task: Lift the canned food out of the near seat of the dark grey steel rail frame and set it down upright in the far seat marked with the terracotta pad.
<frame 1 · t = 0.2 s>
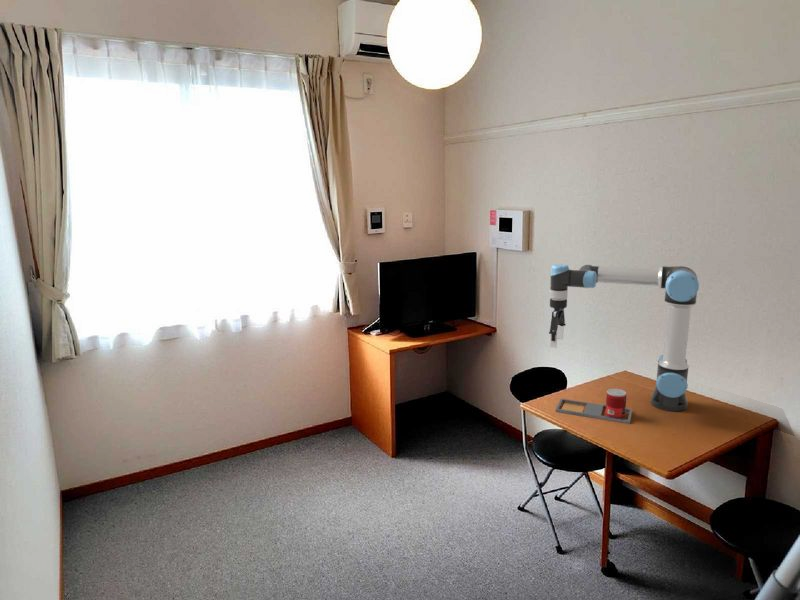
hand: (556, 343, 254), 28 cm above the table, fingers open, 13 cm apart
canned food: (615, 415, 241), resting in rail frame
rail frame: (593, 411, 245), on the table
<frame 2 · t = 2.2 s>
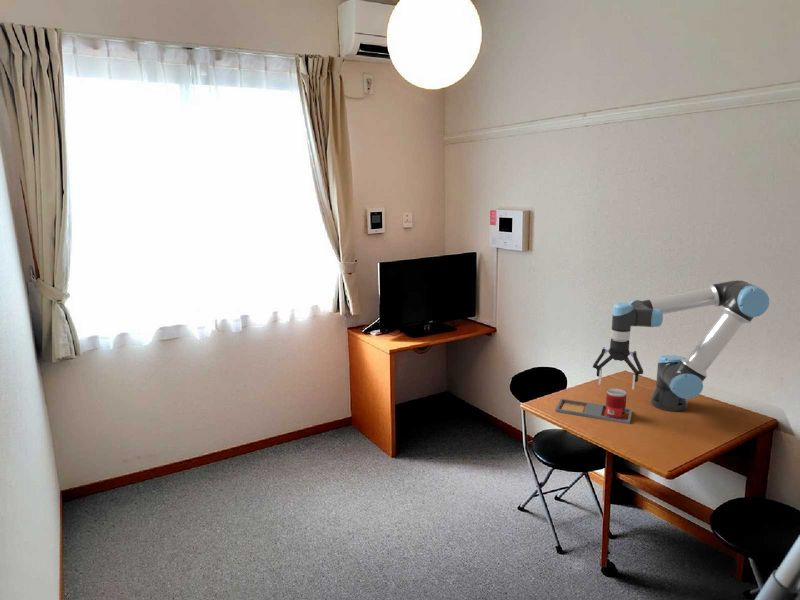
hand: (616, 385, 238), 14 cm above the table, fingers open, 13 cm apart
nothing on the table moved.
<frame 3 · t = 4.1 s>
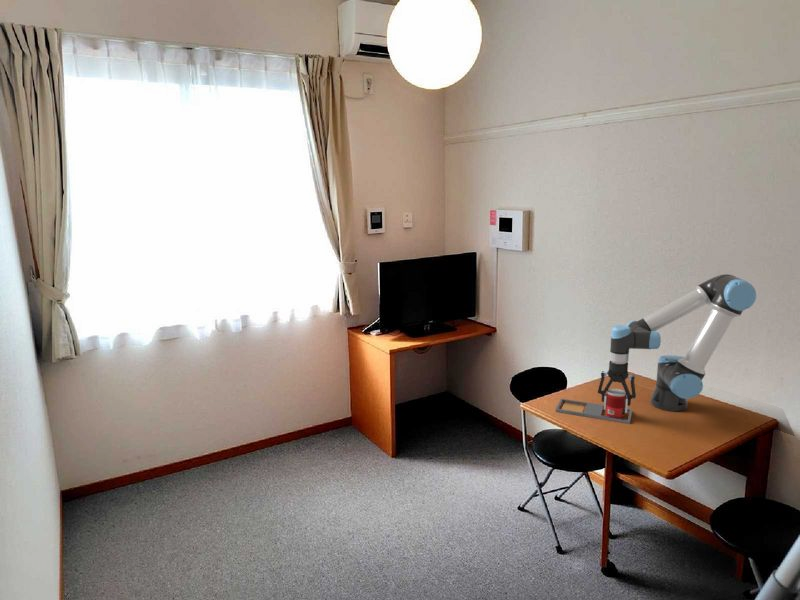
hand: (615, 410, 241), 2 cm above the table, fingers closed on canned food, 8 cm apart
canned food: (615, 415, 241), resting in rail frame, touching gripper
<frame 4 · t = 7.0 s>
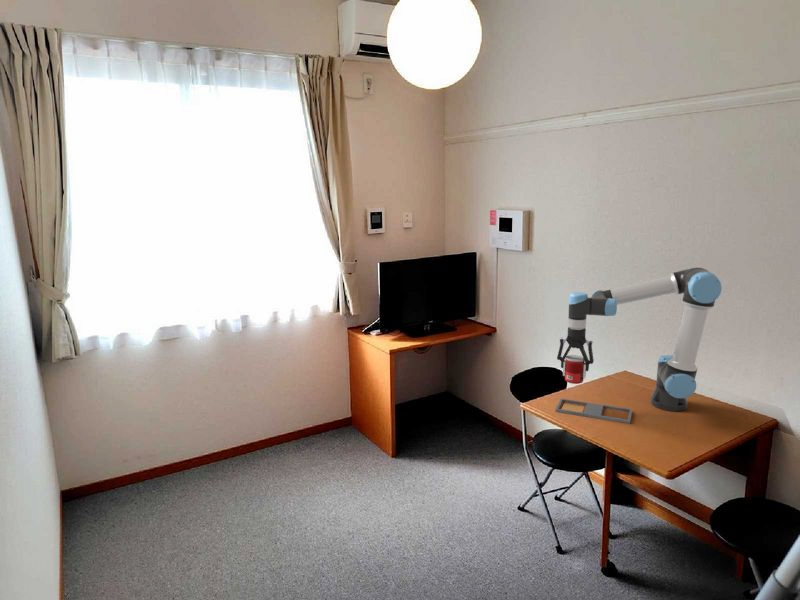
hand: (574, 376, 246), 16 cm above the table, fingers closed on canned food, 8 cm apart
canned food: (574, 381, 246), point 13 cm above the table, touching gripper
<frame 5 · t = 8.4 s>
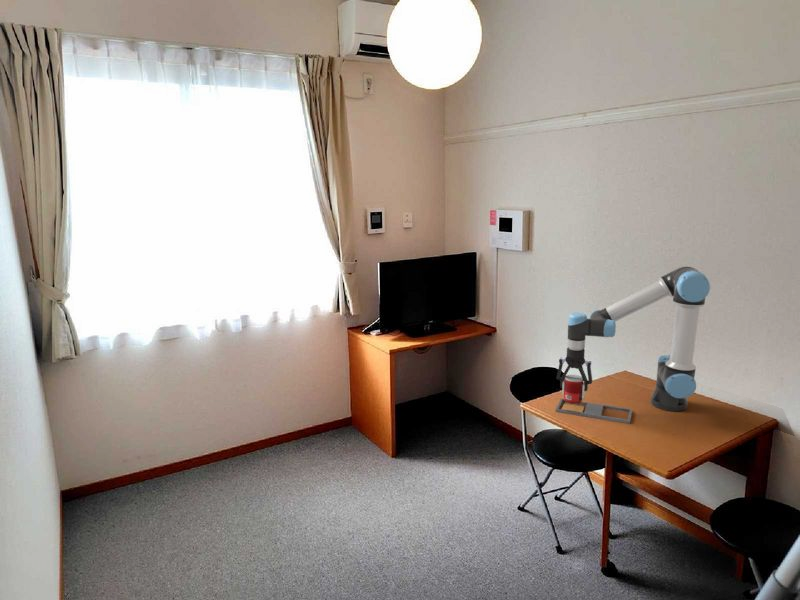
hand: (573, 395, 248), 6 cm above the table, fingers closed on canned food, 8 cm apart
canned food: (572, 400, 248), point 4 cm above the table, touching gripper
when the fingers open (4 cm above the table, at t = 9.8 s): canned food drops 1 cm, resting on rail frame.
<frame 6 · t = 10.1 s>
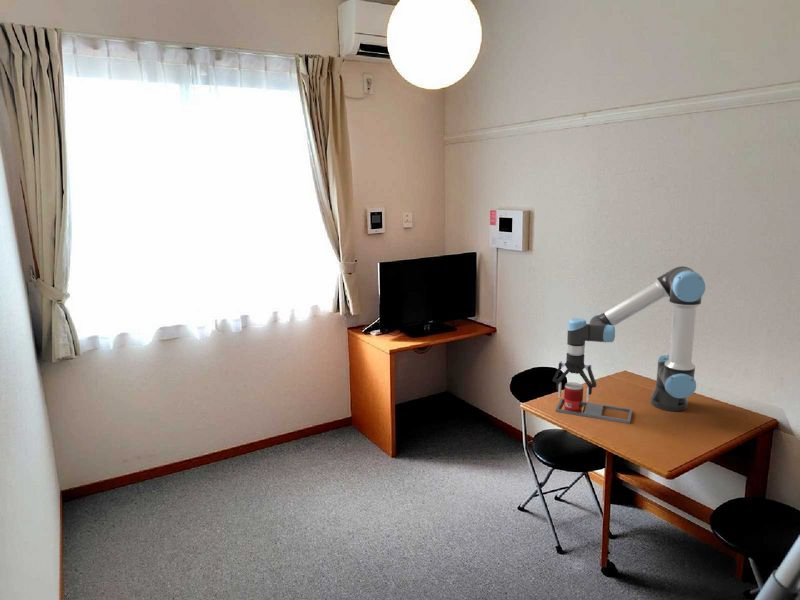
hand: (573, 398, 248), 5 cm above the table, fingers open, 11 cm apart
canned food: (572, 408, 249), resting on rail frame
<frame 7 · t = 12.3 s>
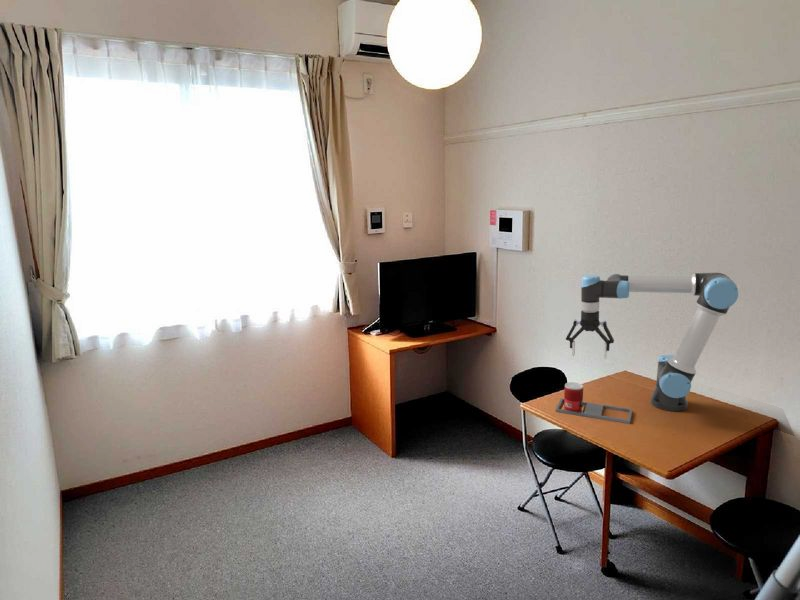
hand: (589, 356, 246), 24 cm above the table, fingers open, 13 cm apart
nothing on the table moved.
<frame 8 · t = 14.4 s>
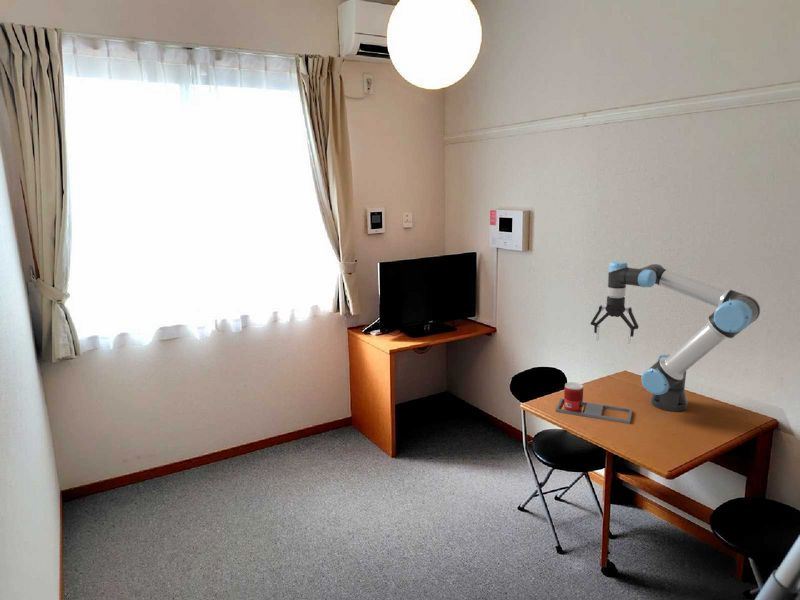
hand: (613, 341, 251), 29 cm above the table, fingers open, 13 cm apart
nothing on the table moved.
at the end: canned food inside the target area (0.1 cm from its centre), resting on rail frame; canned food tilted 0°; the gripper is holding nothing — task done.
